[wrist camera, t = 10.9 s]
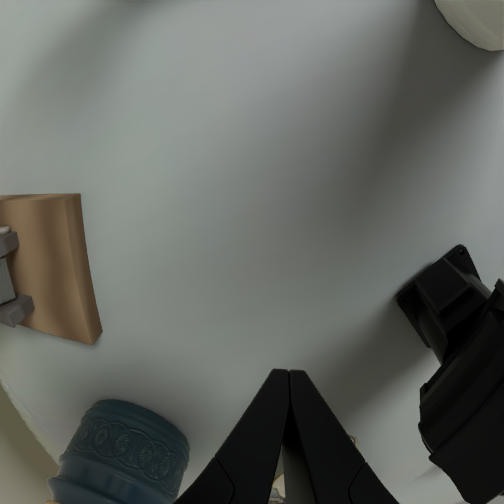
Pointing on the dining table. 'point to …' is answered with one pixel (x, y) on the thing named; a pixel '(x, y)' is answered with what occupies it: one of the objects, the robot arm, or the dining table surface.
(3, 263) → the lever
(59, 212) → the board
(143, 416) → the canister
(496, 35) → the bottle
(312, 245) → the dining table surface
